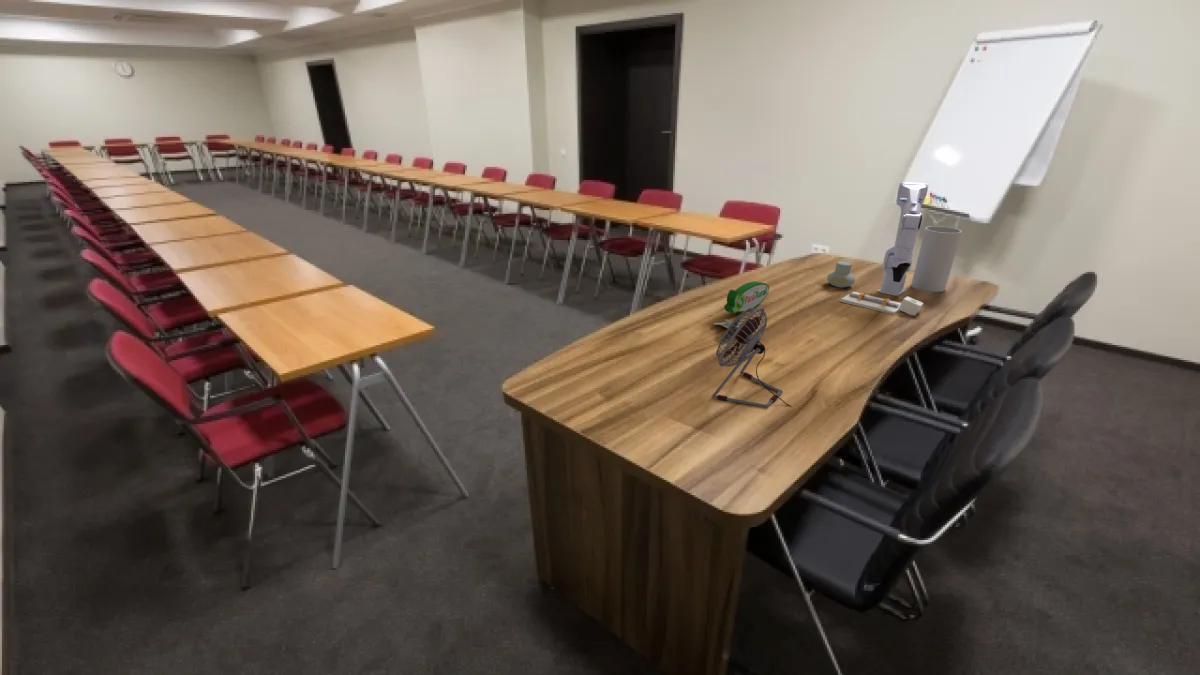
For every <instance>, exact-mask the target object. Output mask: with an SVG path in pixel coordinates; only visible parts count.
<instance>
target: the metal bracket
mask: <svg viewBox="0 0 1200 675" xmlns="http://www.w3.org/2000/svg"><path fill="white" fill-rule="evenodd" d="M732 322H733V321H731V320H730V319H726V318H725V319H724V322H713V324H712V325H714V326H715V325H716V326H721V327H724V328H726V329H728V328H729V327H730V325H731V324H732ZM739 324H740V325H741V324H742V323H740V322H739ZM739 324H738V326H737V327H739V326H740V325H739ZM758 329H761V328H760V326H759V327H758Z"/></svg>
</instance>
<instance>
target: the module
mask: <svg viewBox="0 0 1200 675" xmlns="http://www.w3.org/2000/svg"><path fill="white" fill-rule="evenodd" d="M900 303H901V305H900V307H899V308H898V310H900V311H901V312H904V313H906V314H908V315H910V316H915V317H916V315H917V314H918V313H919V312H920V310H921V309H922V307H923V305H924V302H922V301H920V300H916V299H915V298H912V297H911V296H906V297H904V298H903V299H902V301H901V302H900Z"/></svg>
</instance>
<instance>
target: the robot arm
mask: <svg viewBox="0 0 1200 675" xmlns="http://www.w3.org/2000/svg"><path fill="white" fill-rule="evenodd" d="M928 189H929V183H928V182H907V181H906V182H905V181H901V182H900V183H899V185H898V189H897V194H896V195H897V196H896V200H895V202H896V205H897V206H899V208H900V216H899V219H898V220H899V222H898V226H897V232H896V238H895V241H894V246H892V247H891V248H888V249H887V250H886V252H885V253H884V257H883V262H882V269H883V270H884V275H883V279H882V282H881V288H879V289H877V290H876V292H878V293H882V294H887V295H891V296H895V297H897V296H900V295H901V294H903V293H905V292H906V289H904V287H905V283H906V279H907V273H908V272H910V270H911V267H912V264H913V251H914V248H915V245H916V241H917V237H918V232H919V231H920V230H921V227H922V224H923V216H924V215H923V213H921V212H922V206H923V204H924V201H925V199H926V197H927V194H928Z"/></svg>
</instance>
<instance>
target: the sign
mask: <svg viewBox="0 0 1200 675" xmlns="http://www.w3.org/2000/svg"><path fill="white" fill-rule="evenodd" d="M769 292H770V287H769V284H767V283H764V282H761V281H755V280H754V281H749V282H747V283H744V284H742V285H740V286H739V287H738V288H736V289H730V290H729V292H728V294H727V296H726V304H724V306H723V307H724V310H725V311H726V312H728V313H731V314H737V313H743V312H744V311H745V310H747V309H748V308H757V307H759V305H761V303H762V302H764V300H765V299H767V296H768V294H769Z"/></svg>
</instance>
